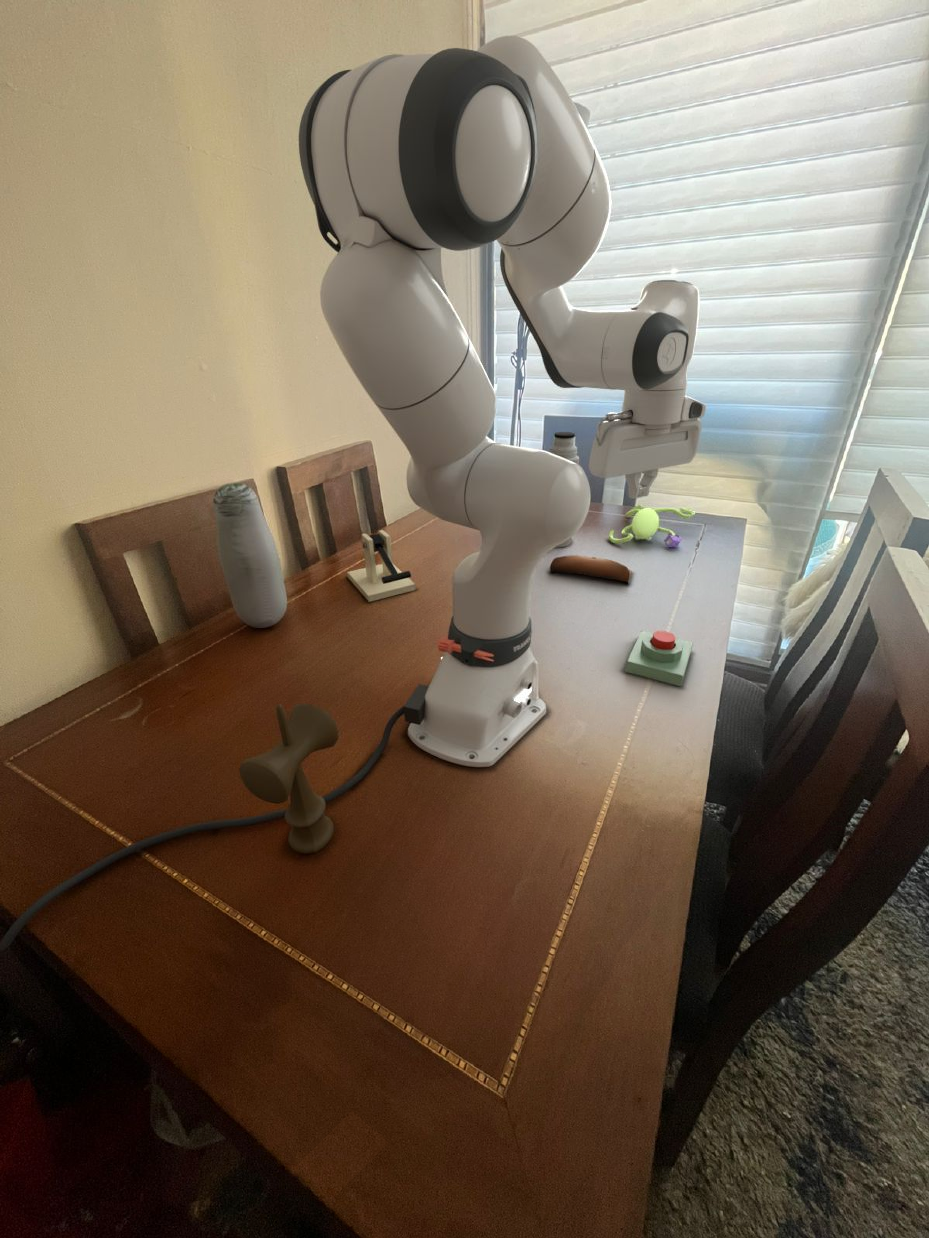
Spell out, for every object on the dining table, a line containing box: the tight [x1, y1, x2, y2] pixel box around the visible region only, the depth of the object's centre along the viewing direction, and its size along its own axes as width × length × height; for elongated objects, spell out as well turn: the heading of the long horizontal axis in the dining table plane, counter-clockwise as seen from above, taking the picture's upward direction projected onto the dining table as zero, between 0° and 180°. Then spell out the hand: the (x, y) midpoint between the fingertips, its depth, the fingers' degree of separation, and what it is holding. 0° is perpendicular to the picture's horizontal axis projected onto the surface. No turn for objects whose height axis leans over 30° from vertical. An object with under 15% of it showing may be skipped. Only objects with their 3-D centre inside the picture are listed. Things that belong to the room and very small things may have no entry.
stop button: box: [651, 630, 677, 650], centre depth 87 cm, size 4×4×2 cm
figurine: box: [608, 504, 696, 548], centre depth 141 cm, size 18×27×6 cm
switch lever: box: [369, 533, 412, 584], centre depth 110 cm, size 13×6×2 cm, turn 29°
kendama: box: [238, 702, 339, 855], centre depth 55 cm, size 6×10×20 cm, turn 160°
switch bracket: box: [347, 529, 416, 603], centre depth 115 cm, size 14×11×12 cm
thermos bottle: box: [548, 431, 580, 548], centre depth 131 cm, size 8×8×28 cm
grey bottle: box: [212, 482, 288, 629], centre depth 96 cm, size 10×10×28 cm
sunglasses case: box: [549, 554, 632, 585], centre depth 120 cm, size 18×7×7 cm, turn 68°
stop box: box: [624, 630, 694, 687], centre depth 89 cm, size 11×9×4 cm
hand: (637, 497), depth 86 cm, fingers closed
